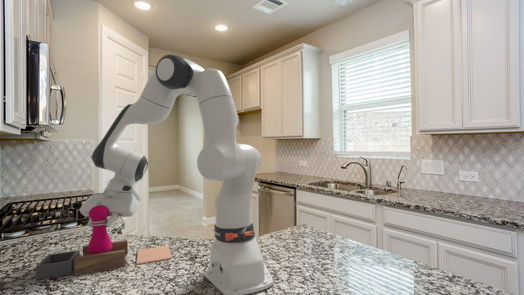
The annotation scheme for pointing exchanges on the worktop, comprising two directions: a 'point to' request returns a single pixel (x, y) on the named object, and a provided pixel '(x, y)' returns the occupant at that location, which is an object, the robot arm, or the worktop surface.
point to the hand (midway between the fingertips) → (98, 226)
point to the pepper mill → (99, 230)
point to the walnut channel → (102, 258)
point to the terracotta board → (153, 254)
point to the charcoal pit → (56, 265)
